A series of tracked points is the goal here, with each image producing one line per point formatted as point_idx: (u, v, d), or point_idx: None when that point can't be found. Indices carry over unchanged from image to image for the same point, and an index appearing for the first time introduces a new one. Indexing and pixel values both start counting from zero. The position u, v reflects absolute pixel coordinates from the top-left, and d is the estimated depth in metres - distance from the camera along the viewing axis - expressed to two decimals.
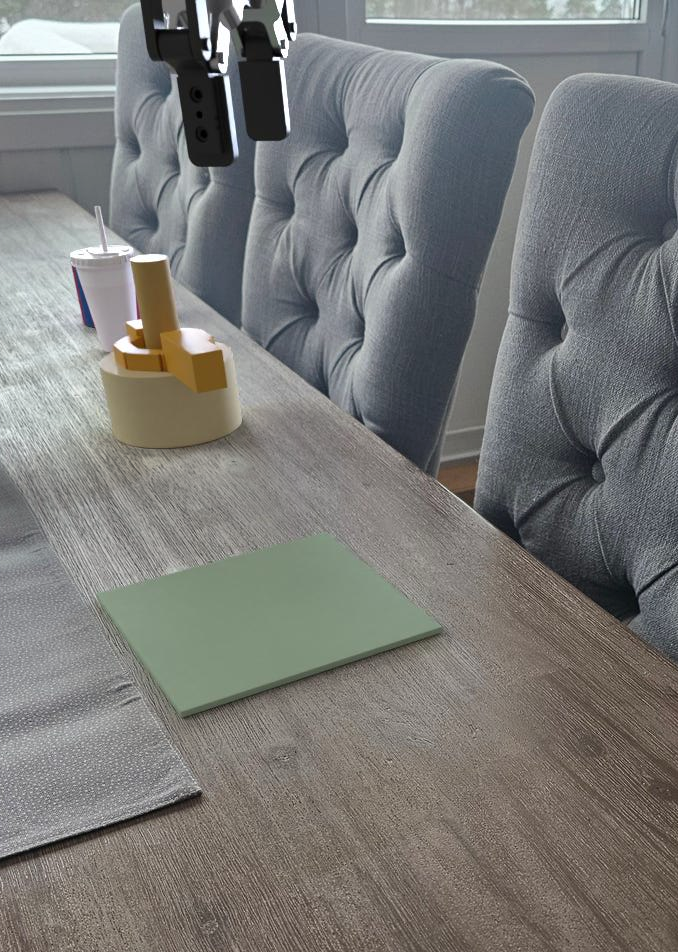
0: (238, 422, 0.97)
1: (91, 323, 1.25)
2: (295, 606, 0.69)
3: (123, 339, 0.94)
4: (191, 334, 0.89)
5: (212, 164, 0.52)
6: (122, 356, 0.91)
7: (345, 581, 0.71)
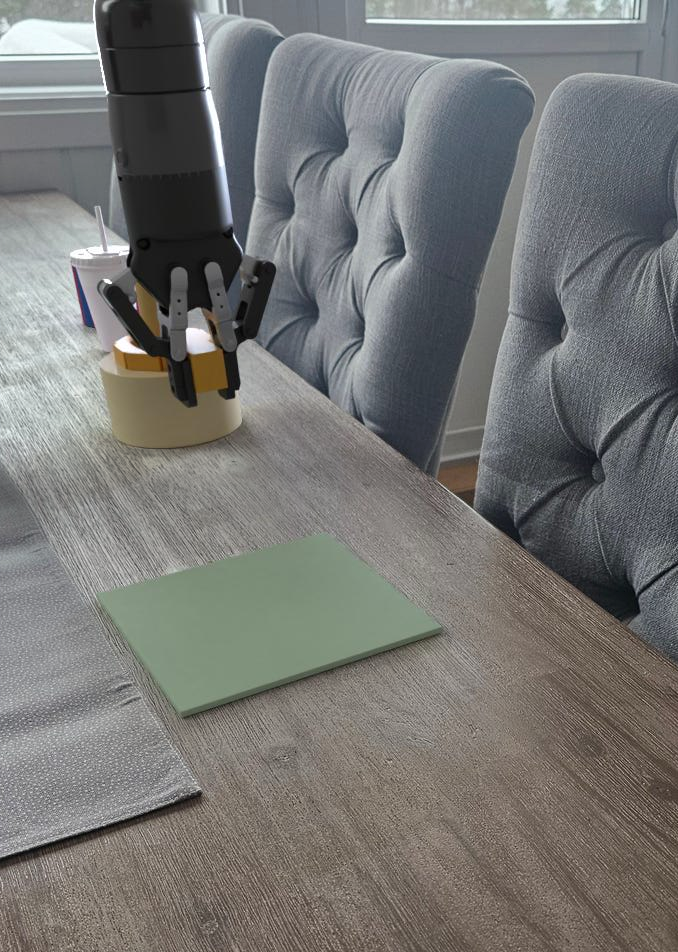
0: (238, 422, 0.97)
1: (91, 323, 1.25)
2: (295, 606, 0.69)
3: (123, 339, 0.94)
4: (191, 334, 0.89)
5: (185, 404, 0.87)
6: (122, 356, 0.91)
7: (345, 581, 0.71)
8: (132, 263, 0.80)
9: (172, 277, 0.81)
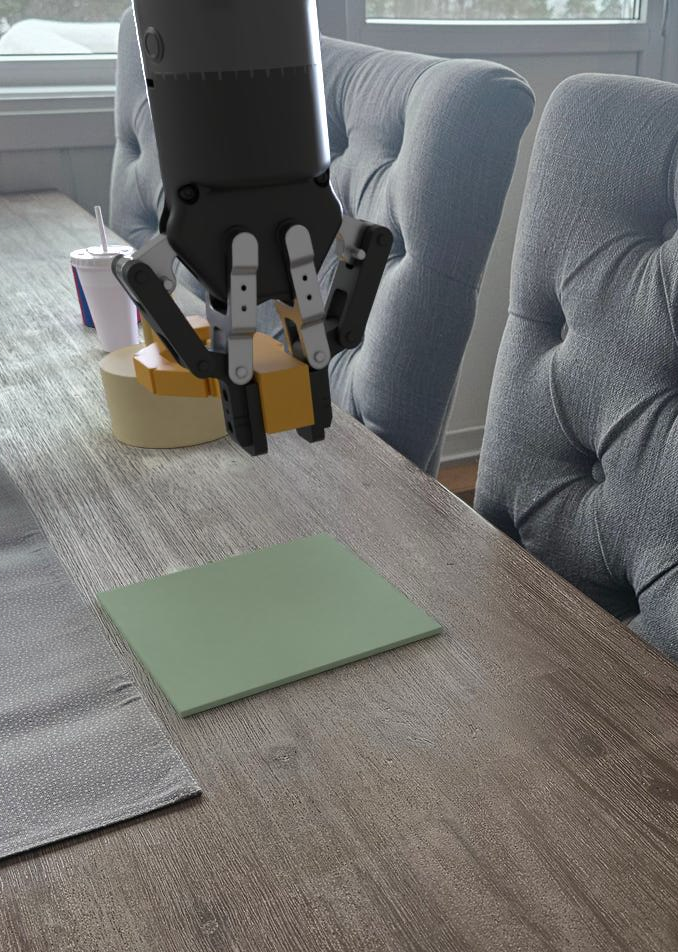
0: None
1: (91, 323, 1.25)
2: (295, 606, 0.69)
3: (148, 348, 0.63)
4: (255, 341, 0.58)
5: (247, 450, 0.56)
6: (148, 375, 0.60)
7: (345, 581, 0.71)
8: (169, 226, 0.49)
9: (234, 249, 0.49)
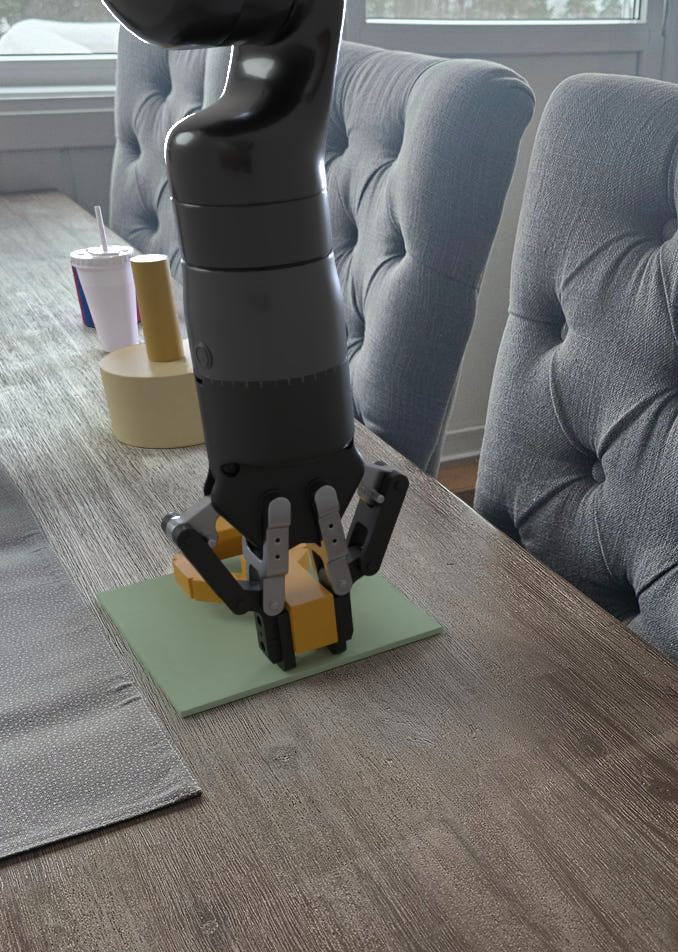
0: None
1: (91, 323, 1.25)
2: None
3: None
4: None
5: (278, 663, 0.63)
6: (186, 582, 0.67)
7: None
8: (213, 494, 0.55)
9: (270, 512, 0.56)
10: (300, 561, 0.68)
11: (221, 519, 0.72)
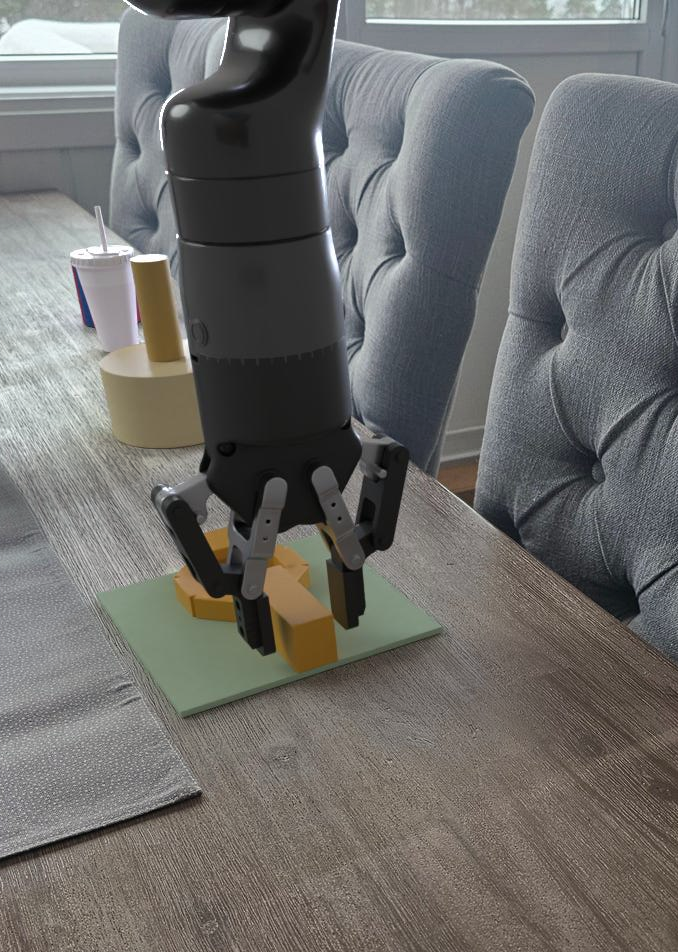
0: None
1: (91, 323, 1.25)
2: None
3: (187, 568, 0.70)
4: (285, 579, 0.65)
5: (257, 649, 0.62)
6: (188, 600, 0.67)
7: None
8: (210, 470, 0.55)
9: (266, 492, 0.56)
10: (300, 579, 0.69)
11: (222, 536, 0.73)
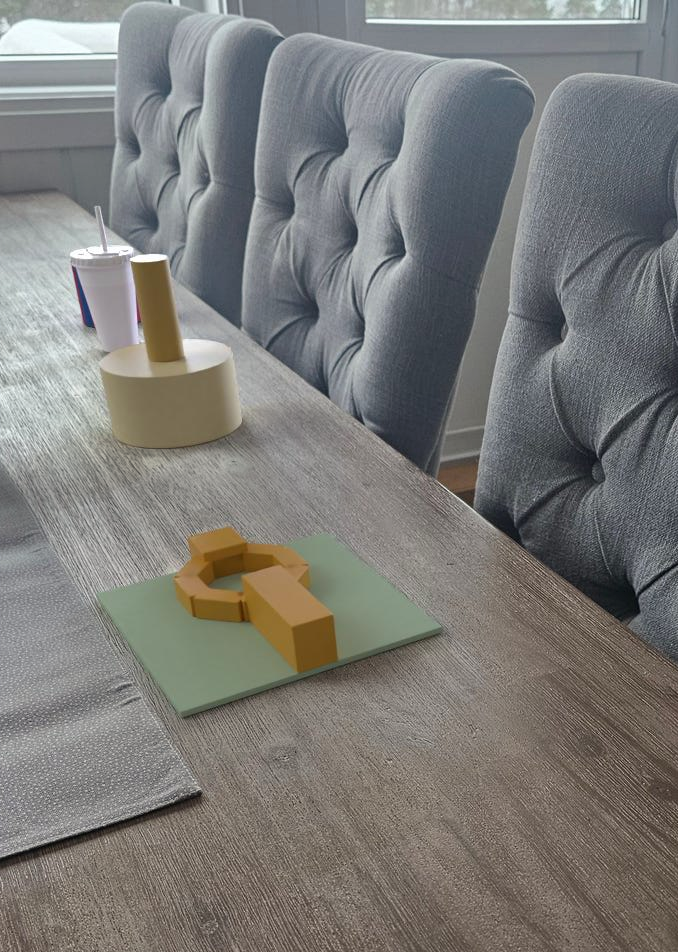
0: (238, 422, 0.97)
1: (91, 323, 1.25)
2: None
3: (187, 568, 0.70)
4: (285, 579, 0.65)
5: None
6: (188, 600, 0.67)
7: (345, 581, 0.71)
8: None
9: None
10: (300, 579, 0.69)
11: (222, 536, 0.73)
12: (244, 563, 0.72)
